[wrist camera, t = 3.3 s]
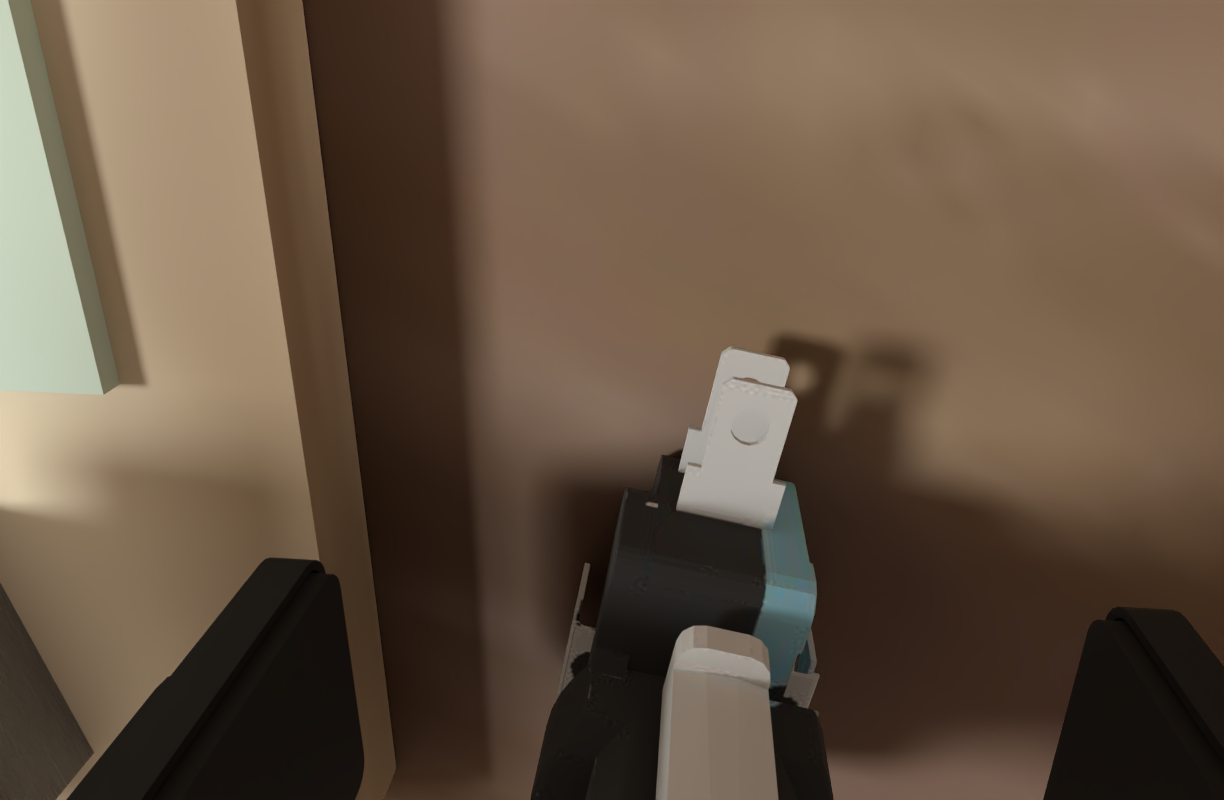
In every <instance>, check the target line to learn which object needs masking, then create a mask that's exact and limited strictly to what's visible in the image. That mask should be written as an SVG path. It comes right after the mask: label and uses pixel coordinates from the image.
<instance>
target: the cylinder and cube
mask: <svg viewBox="0 0 1224 800" xmlns="http://www.w3.org/2000/svg"><path fill="white" fill-rule="evenodd" d="M93 754H94V751H93V750H92V748H91V746H90V744H89V742H88V741H87V739H86V737H85V735H84V733H83V731H82V730H81V728H80V726H79V724H78V722H77V721H76V719H75V717H74V715H73V713H72V712H71V710H70V708H69V706H68V704H67V702H66V701H65V699H64V697H63V695H62V693H61V692H60V690H59V688H58V686H57V684H56V683H55V681H54V679H53V677H52V675H51V673H50V672H49V670H48V668H47V666H46V664H45V663H44V661H43V659H42V657H41V655H40V654H39V652H38V650H37V648H36V646H35V644H34V643H33V641H32V639H31V637H30V635H29V634H28V632H27V630H26V628H25V626H24V625H23V623H22V621H21V619H20V617H19V615H18V614H17V612H16V610H15V608H14V606H13V605H12V603H11V601H10V599H9V597H8V596H7V594H6V592H5V590H4V588H3V586H2V585H1V583H0V800H56V799H57V798H58V796H59V795H60V794H61V793H62V792H63V790H64V789H65V788H66V787H67V785H68V784H69V783H70V782H71V781H72V779H73V778H74V777H75V776H76V774H77V773H78V772H79V771H80V770H81V768H82V767H83V766H84V765H85V763H86V762H87V761H88V760H89V759H90V757H91V756H92V755H93Z"/></svg>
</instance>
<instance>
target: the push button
mask: <svg viewBox="0 0 1224 800" xmlns="http://www.w3.org/2000/svg"><path fill="white" fill-rule="evenodd" d="M789 370H790V366H789V364H788V363H787V361H786V360H785V358H783V357H779V356H774V355H769V354H765V353H760V352H755V351H751V350H746V349H741V348H737V347H732V346H730V347H729V348H727V349H725V350H723V351H722V353H721V357H720V361H719V364H718V368H717V372H716V376H715V380H714V384H713V387H712V391H711V395H710V399H709V403H708V407H707V410H706V414H705V418H704V422H703V426H702V429H700V428H695V427H691V426H689V429H688V433H687V437H686V441H685V445H684V449H683V453H682V457H681V459H679V458H675V457H670V456H665V455H662V456H661V459H660V463H659V466H658V470H657V475H656V479H655V483H654V487H653V491H652V493H650V492H645V491H641V490H636V489H632V488H626V489H625V492H624V496H623V500H622V504H621V508H620V513H619V517H618V522H617V526H616V531H615V536H614V541H613V546H612V551H611V556H610V561H609V566H608V571H607V576H606V581H605V586H604V591H603V596H602V601H601V606H600V611H599V616H598V621H597V625H596V628H593V627H588V626H584V625H582V624H580V622H579V617H580V613H581V608H582V603H583V598H584V593H585V588H586V584H587V579H588V574H589V569H590V564H588V563H585V565H584V569H583V574H582V579H581V583H580V588H579V592H578V597H577V602H576V606H575V611H574V616H573V620H572V625H571V629H570V634H569V639H568V643H567V648H566V653H565V657H564V662H563V667H562V671H561V676H560V681H559V685H558V690H557V695H558V696H559V697H558V699H557V701H556V702H555V704H554V706H553V708H552V710H551V714H550V717H549V720H548V723H547V726H546V731H545V735H544V740H543V744H542V749H541V753H540V758H539V763H538V767H537V772H536V776H535V781H534V785H533V790H532V794H531V800H833V793H832V787H831V781H830V775H829V769H828V763H827V757H826V751H825V744H824V738H823V732H822V729H821V726H820V723H819V720H818V715H819V712H818V711H816V710H812V709H808V707H809V704H810V701H811V699H812V696H813V693H814V691H815V688H816V685H817V682H818V680H819V674H818V673H814V670H815V667H816V664H817V659H816V653H815V647H814V641H813V635H812V630H811V625H812V622H813V618H814V614H815V608H816V599H817V585H816V578H815V572H814V567H813V564H812V563H810V562H809V556H808V551H807V546H806V540H805V535H804V529H803V524H802V519H801V513H800V508H799V503H798V497H797V492H796V487H795V485H794V483H792V482H787V481H783V480H778V479H774V476H775V473H776V470H777V466H778V463H779V460H780V456H781V453H782V450H783V447H784V443H785V440H786V437H787V434H788V430H789V427H790V424H791V421H792V417H793V414H794V411H795V407H796V404H797V401H798V400H797V397H796V396H795V394H794V392H793V391H792V389H789V388H785V384H786V380H787V377H788V374H789ZM746 377H749V378H753V379H756V380H757V381H759V382H757V381H752V380H747V379H743V378H746ZM798 653H799V663H798V668H797V672H795V671H794V667H795V662H796V659H797V656H798Z"/></svg>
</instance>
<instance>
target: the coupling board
mask: <svg viewBox="0 0 1224 800" xmlns="http://www.w3.org/2000/svg"><path fill="white" fill-rule="evenodd" d="M270 557H273V558H291V559H308V560H318V561H320V562H321V563H322V565H323V566H324V568H325V572H326V574H334V575H336V576H337V577H338V579H339V582H340V586H341V593H342V600H343V607H344V614H345V621H346V628H347V635H348V642H349V649H350V657H351V664H352V671H353V678H354V685H355V692H356V699H357V706H358V714H359V721H360V728H361V735H362V742H363V749H364V760H365V761H364V772H363V778H362V782H361V786H360V789H359V792H358V794H357V796H356V799H355V800H384V798H385V796H386V793H387V791H388V788H389V786H390V783H391V781H392V778H393V776H394V773H395V771H396V761H395V753H394V745H393V736H392V728H391V720H390V712H389V704H388V696H387V687H386V679H385V671H384V663H383V655H382V647H381V638H380V630H379V622H378V614H377V606H376V598H375V589H374V581H373V573H372V565H371V557H370V549H369V540H368V532H367V524H366V516H365V508H364V500H363V492H362V483H361V475H360V467H359V459H358V451H357V443H356V434H355V426H354V418H353V410H352V402H351V394H350V385H349V377H348V369H347V361H346V353H345V345H344V336H343V328H342V320H341V312H340V304H339V296H338V287H337V279H336V271H335V263H334V255H333V247H332V238H331V230H330V222H329V214H328V206H327V198H326V190H325V181H324V173H323V165H322V157H321V149H320V141H319V132H318V124H317V116H316V108H315V100H314V92H313V83H312V75H311V67H310V59H309V51H308V43H307V34H306V26H305V18H304V10H303V2H302V0H0V583H1V585H2V586H3V588H4V590H5V592H6V594H7V596H8V597H9V599H10V601H11V603H12V605H13V606H14V608H15V610H16V612H17V614H18V615H19V617H20V619H21V621H22V623H23V625H24V626H25V628H26V630H27V632H28V634H29V635H30V637H31V639H32V641H33V643H34V644H35V646H36V648H37V650H38V652H39V654H40V655H41V657H42V659H43V661H44V663H45V664H46V666H47V668H48V670H49V672H50V673H51V675H52V677H53V679H54V681H55V683H56V684H57V686H58V688H59V690H60V692H61V693H62V695H63V697H64V699H65V701H66V702H67V704H68V706H69V708H70V710H71V712H72V713H73V715H74V717H75V719H76V721H77V722H78V724H79V726H80V728H81V730H82V731H83V733H84V735H85V737H86V739H87V741H88V742H89V744H90V746H91V748H92V750H93V751H94V754H93V755H92V756H91V757H90V759H89V760H88V761H87V762H86V763H85V765H84V766H83V767H82V768H81V770H80V771H79V772H78V773H77V774H76V776H75V777H74V778H73V779H72V781H71V782H70V783H69V784H68V785H67V787H66V788H65V789H64V790H63V792H62V793H61V794H60V795H59V796H58V798H57V799H56V800H66V799H67V798H68V797H69V796H70V794H71V793H72V792H73V791H74V789H75V788H76V787H77V786H78V784H79V783H80V782H81V781H82V779H83V778H84V777H85V776H86V774H87V773H88V772H89V771H90V770H91V768H92V767H93V766H94V765H95V763H96V762H97V761H98V760H99V758H100V757H101V756H102V755H103V753H104V752H105V751H106V750H107V748H108V747H109V746H110V745H111V743H112V742H113V741H114V740H115V738H116V737H117V736H118V735H119V733H120V732H121V731H122V730H123V729H124V727H125V726H126V725H127V724H128V722H129V721H130V720H131V719H132V717H133V716H134V715H135V714H136V712H137V711H138V710H139V709H140V707H141V706H142V705H143V704H144V702H145V701H146V700H147V699H148V697H149V696H150V695H151V694H152V692H153V691H154V690H155V689H156V688H157V687H158V686H159V685H160V684H161V683H162V682H163V681H164V680H165V679H166V678H167V677H169V676H171V674H172V673H173V672H174V671H175V669H176V668H177V667H178V666H179V664H180V663H181V662H182V661H183V659H184V658H185V657H186V656H187V654H188V653H189V652H190V651H191V649H192V648H193V647H194V646H195V644H196V643H197V642H198V641H199V639H200V638H201V637H202V636H203V634H204V633H205V632H206V631H207V629H208V628H209V627H210V626H211V624H212V623H213V622H214V621H215V619H216V618H217V617H218V616H219V614H220V613H221V612H222V611H223V609H224V608H225V607H226V606H227V604H228V603H229V602H230V601H231V599H232V598H233V597H234V596H235V594H236V593H237V592H238V591H239V589H240V588H241V587H242V586H243V584H244V583H245V582H246V581H247V579H248V578H249V577H250V576H251V574H252V573H253V572H254V571H255V569H256V568H257V567H258V566H259V564H260V563H261V562H262V561H264V560H265V559H266V558H270Z"/></svg>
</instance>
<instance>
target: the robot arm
mask: <svg viewBox="0 0 1224 800" xmlns="http://www.w3.org/2000/svg"><path fill="white" fill-rule="evenodd" d="M364 761H365V760H364V749H363V742H362V735H361V728H360V721H359V714H358V706H357V699H356V692H355V685H354V678H353V671H352V664H351V657H350V649H349V642H348V635H347V628H346V621H345V614H344V607H343V600H342V593H341V586H340V582H339V579H338V577H337V576H336V575H334V574H326V572H325V568H324V566H323V565H322V563H321V562H320V561H318V560H308V559H291V558H273V557H270V558H266V559H265V560H264V561H262V562H261V563H260V564H259V566H258V567H257V568H256V569H255V571H254V572H253V573H252V574H251V576H250V577H249V578H248V579H247V581H246V582H245V583H244V584H243V586H242V587H241V588H240V589H239V591H238V592H237V593H236V594H235V596H234V597H233V598H232V599H231V601H230V602H229V603H228V604H227V606H226V607H225V608H224V609H223V611H222V612H221V613H220V614H219V616H218V617H217V618H216V619H215V621H214V622H213V623H212V624H211V626H210V627H209V628H208V629H207V631H206V632H205V633H204V634H203V636H202V637H201V638H200V639H199V641H198V642H197V643H196V644H195V646H194V647H193V648H192V649H191V651H190V652H189V653H188V654H187V656H186V657H185V658H184V659H183V661H182V662H181V663H180V664H179V666H178V667H177V668H176V669H175V671H174V672H173V673H172V674H171V676H169V677H167V678H166V679H165V680H164V681H163V682H162V683H161V684H160V685H159V686H158V687H157V688H156V689H155V690H154V691H153V692H152V694H151V695H150V696H149V697H148V699H147V700H146V701H145V702H144V704H143V705H142V706H141V707H140V709H139V710H138V711H137V712H136V714H135V715H134V716H133V717H132V719H131V720H130V721H129V722H128V724H127V725H126V726H125V727H124V729H123V730H122V731H121V732H120V733H119V735H118V736H117V737H116V738H115V740H114V741H113V742H112V743H111V745H110V746H109V747H108V748H107V750H106V751H105V752H104V753H103V755H102V756H101V757H100V758H99V760H98V761H97V762H96V763H95V765H94V766H93V767H92V768H91V770H90V771H89V772H88V773H87V774H86V776H85V777H84V778H83V779H82V781H81V782H80V783H79V784H78V786H77V787H76V788H75V789H74V791H73V792H72V793H71V794H70V796H69V797H68V798H67V799H66V800H355V799H356V796H357V794H358V792H359V789H360V786H361V782H362V778H363V772H364ZM1043 800H1224V666H1223V665H1222V664H1221V662H1220V661H1219V660H1218V659H1217V657H1216V656H1215V655H1214V654H1213V652H1212V651H1211V650H1210V648H1209V647H1208V646H1207V645H1206V643H1205V642H1204V641H1203V639H1202V638H1201V637H1200V636H1199V634H1198V633H1197V632H1196V631H1195V629H1194V628H1193V627H1192V625H1191V624H1190V623H1189V622H1188V620H1187V619H1186V618H1185V617H1184V616H1183V615H1182V614H1181V613H1180V612H1177V611H1174V610H1165V609H1148V608H1130V607H1116V608H1113V609H1112V610H1111V611H1110V612H1109V614H1108V615H1107V617H1106V620H1096V621H1093V623H1092V624H1091V625H1090V627H1089V630H1088V633H1087V637H1086V640H1085V644H1084V648H1083V652H1082V655H1081V659H1080V663H1079V667H1078V671H1077V674H1076V678H1075V682H1074V686H1073V689H1072V693H1071V697H1070V701H1069V705H1068V708H1067V712H1066V716H1065V720H1064V723H1063V727H1062V731H1061V735H1060V739H1059V742H1058V746H1057V750H1056V754H1055V757H1054V761H1053V765H1052V769H1051V773H1050V776H1049V780H1048V784H1047V788H1046V791H1045V795H1044V799H1043Z"/></svg>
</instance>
